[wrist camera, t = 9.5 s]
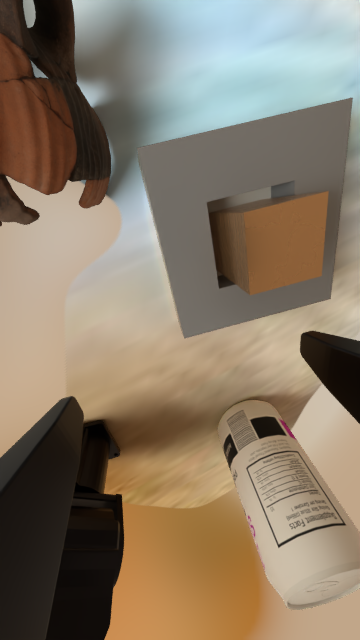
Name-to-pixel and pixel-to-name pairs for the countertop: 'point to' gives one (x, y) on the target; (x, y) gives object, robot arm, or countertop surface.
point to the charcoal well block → (235, 189)
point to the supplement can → (289, 509)
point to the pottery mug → (45, 111)
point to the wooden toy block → (270, 241)
